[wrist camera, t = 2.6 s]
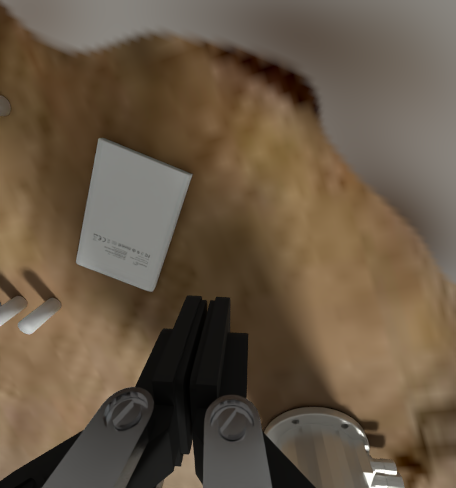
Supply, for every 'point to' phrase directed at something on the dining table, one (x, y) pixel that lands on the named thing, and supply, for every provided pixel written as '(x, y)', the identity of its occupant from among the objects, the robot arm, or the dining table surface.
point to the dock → (18, 303)
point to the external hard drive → (130, 214)
